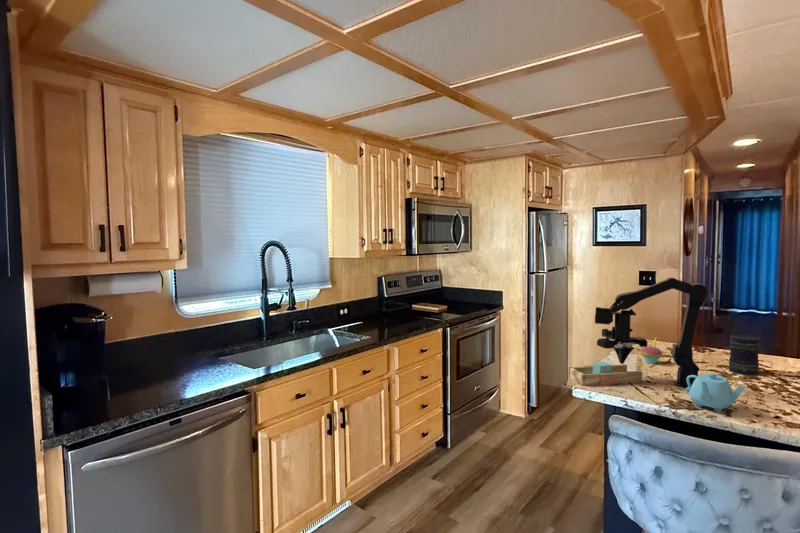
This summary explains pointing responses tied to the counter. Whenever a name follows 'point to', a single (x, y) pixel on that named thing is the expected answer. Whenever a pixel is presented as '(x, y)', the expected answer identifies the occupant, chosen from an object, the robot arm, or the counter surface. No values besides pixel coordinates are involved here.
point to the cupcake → (651, 354)
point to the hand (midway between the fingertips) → (621, 363)
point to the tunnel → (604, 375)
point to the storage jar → (744, 354)
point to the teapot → (712, 391)
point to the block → (601, 367)
